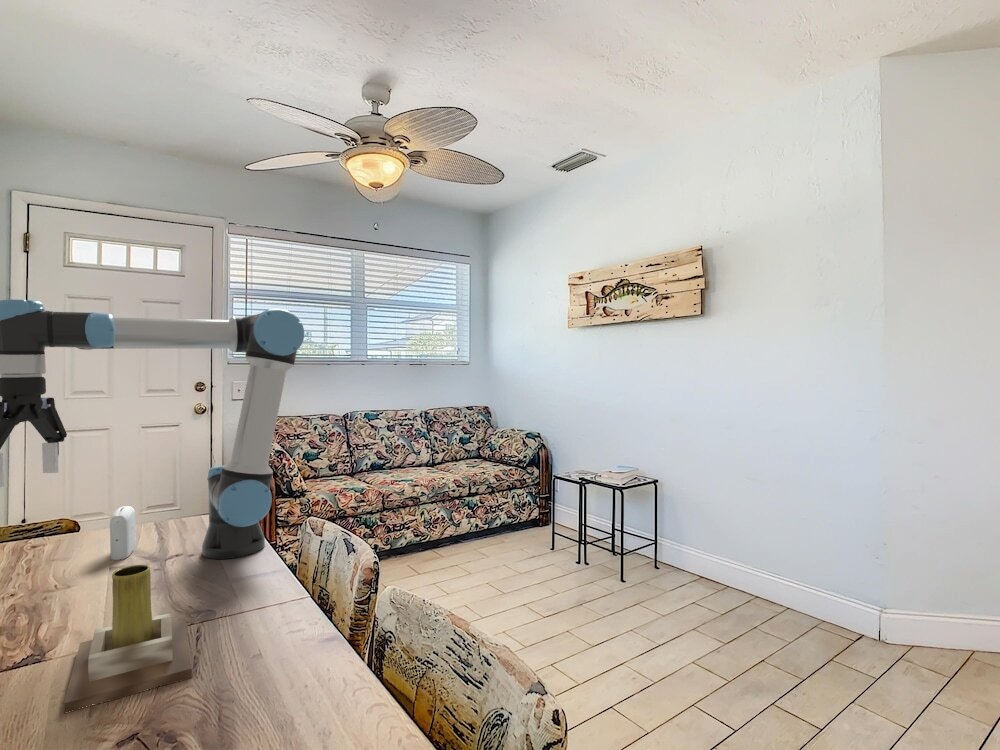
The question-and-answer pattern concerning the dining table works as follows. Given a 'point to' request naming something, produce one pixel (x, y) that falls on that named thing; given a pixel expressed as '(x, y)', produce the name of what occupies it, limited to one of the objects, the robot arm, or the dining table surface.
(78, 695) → the stand
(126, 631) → the vase
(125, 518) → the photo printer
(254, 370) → the robot arm
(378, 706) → the dining table surface
